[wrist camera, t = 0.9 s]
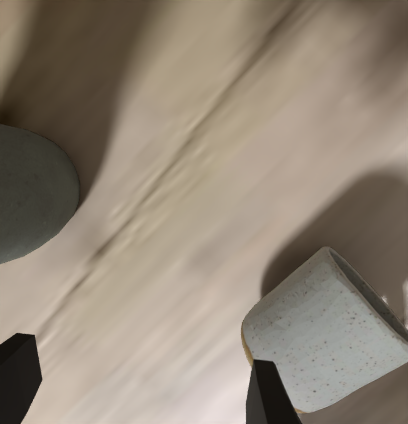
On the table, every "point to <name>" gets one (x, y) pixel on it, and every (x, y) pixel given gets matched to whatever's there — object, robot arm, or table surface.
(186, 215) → the table surface
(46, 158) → the bottle
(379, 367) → the ceramic mug
